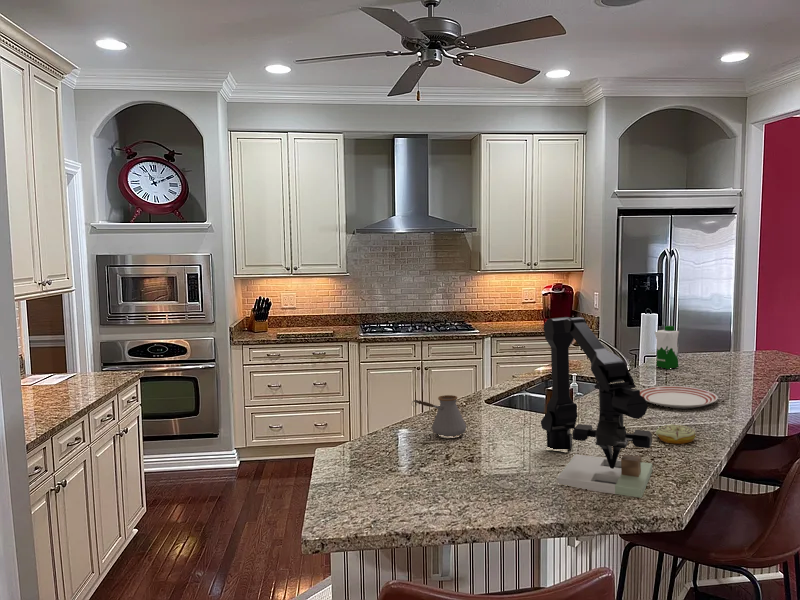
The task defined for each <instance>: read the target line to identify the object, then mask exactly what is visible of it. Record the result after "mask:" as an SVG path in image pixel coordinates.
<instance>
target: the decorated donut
mask: <svg viewBox="0 0 800 600" xmlns="http://www.w3.org/2000/svg"><path fill="white" fill-rule="evenodd" d="M655 435H656V436H657V437H658V439H660V440H661V441H662V442H664V443H666V444H675V445H677V444H678V445H683V444H688V443H692V442H693V441H694V440H695V438H696V430H695V429H693V428H692V427H690V426H687V425H686V426H685V425H680V424H673V423H671V424H665V425H662V426H659V428H658V429H657V430H656V431H655Z"/></svg>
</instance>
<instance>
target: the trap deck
mask: <svg viewBox="0 0 800 600" xmlns="http://www.w3.org/2000/svg"><path fill="white" fill-rule="evenodd" d="M652 472H653V463H651V462H643V461H641V472H640V475H639V477H634V476H627V475H622V473H621V459H618V458H617V461H616V464H615V467H614V469H612V468H610V466H609V463H608V461H607V458H606V457H601V456H593V455H586V454H585V455H584V454H577V453H576V454H574V455H573V457H572V458H571V459H570V461H569V462H568V463H567V464H566V466H565V467H563V470H561V472H559V474H558V476H557V477H556V483H559V484H563V485H568V486H572V487H577V488H576V489H579V488H582V489H581V490H585V489H587V491H594V492H598V493H599V492H600V493H606V494H611V495H612V494H614V495H620V496H626V497H635V498H640V499H641V498H643V496H644V493H645V490H646V487H647V485H648V483H649V481H650V478H651V476H652ZM572 487H571V488H572Z"/></svg>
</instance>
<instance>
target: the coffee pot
mask: <svg viewBox="0 0 800 600" xmlns="http://www.w3.org/2000/svg"><path fill="white" fill-rule="evenodd" d="M437 399H438V400H439V403H440V404H439V405H435V404H432V403H429V402H427V401H421V400H420V399H419V400H417V399H414V400H413V401H412V402H411V406H412V407H414V405H413V403H414V402H415V403H416V404H415V406H418V405H422V406H425V407H429V408H434V409H437V412H436V413H435V414H436V415H435V417H434V420H433V423H432V425H431V430H432V432H433V433H434V434H435V433H436V434H439V435H444V436H456V435H460V434H462V435H463V434H464V433H465V432H466V429H467V424H466V421H465V420H464V417H463V416H462V414H461V413H462V412H461V411H460V410H459V407H458V405H457V400H458V396H457V395H453V394H451V395H450V394H447V395H440V396H438V397H437ZM436 434H435V435H436Z"/></svg>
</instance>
